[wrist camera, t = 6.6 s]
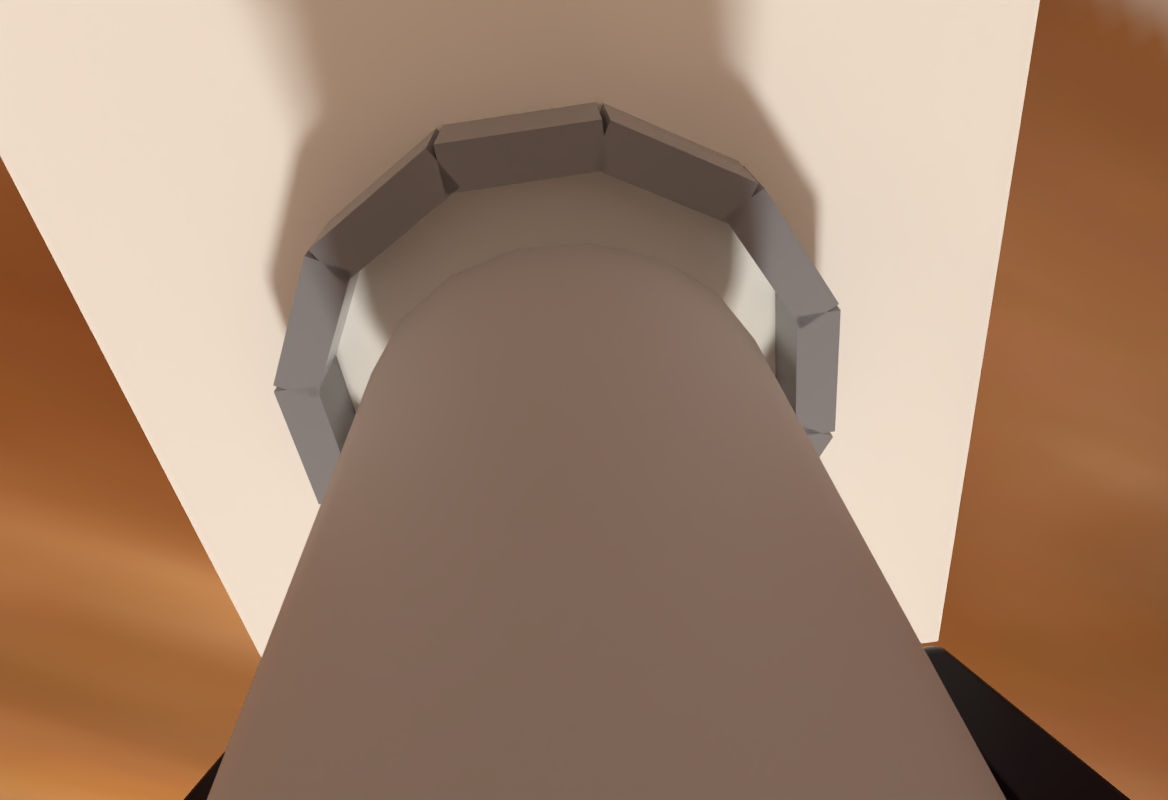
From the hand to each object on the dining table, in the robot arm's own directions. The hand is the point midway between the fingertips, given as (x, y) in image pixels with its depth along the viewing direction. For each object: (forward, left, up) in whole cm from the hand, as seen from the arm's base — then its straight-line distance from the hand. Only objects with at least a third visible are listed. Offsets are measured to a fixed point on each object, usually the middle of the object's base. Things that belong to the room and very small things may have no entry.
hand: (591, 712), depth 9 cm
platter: (0, 0, -9) cm, 9 cm away
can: (0, 0, -7) cm, 7 cm away
